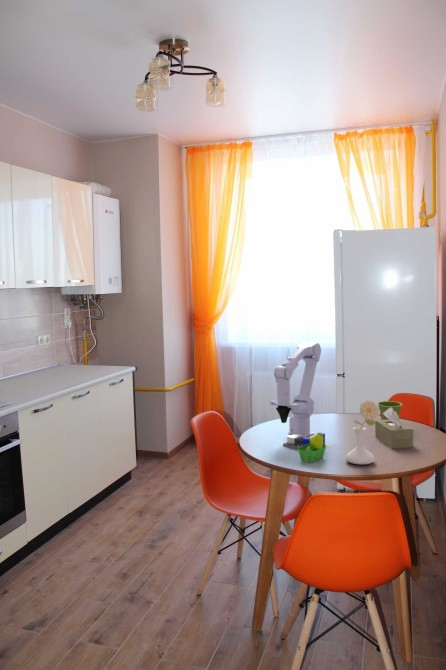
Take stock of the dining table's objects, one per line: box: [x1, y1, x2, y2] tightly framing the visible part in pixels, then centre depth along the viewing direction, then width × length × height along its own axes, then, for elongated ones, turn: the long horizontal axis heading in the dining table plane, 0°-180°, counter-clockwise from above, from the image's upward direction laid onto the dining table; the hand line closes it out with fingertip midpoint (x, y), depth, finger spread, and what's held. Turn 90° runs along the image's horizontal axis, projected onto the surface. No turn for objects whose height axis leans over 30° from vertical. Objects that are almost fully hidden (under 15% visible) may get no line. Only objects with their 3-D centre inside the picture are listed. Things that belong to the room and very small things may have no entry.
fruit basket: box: [297, 432, 327, 464], centre depth 222 cm, size 11×9×11 cm
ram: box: [286, 434, 304, 447], centre depth 243 cm, size 5×6×4 cm
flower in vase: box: [344, 400, 380, 465], centre depth 216 cm, size 13×11×25 cm
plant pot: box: [376, 400, 403, 420], centre depth 270 cm, size 12×12×11 cm
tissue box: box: [374, 407, 414, 449], centre depth 243 cm, size 19×10×16 cm, turn 6°
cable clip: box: [302, 432, 326, 446], centre depth 236 cm, size 12×4×6 cm, turn 134°
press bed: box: [282, 441, 331, 453], centre depth 240 cm, size 17×15×1 cm
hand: (284, 422), depth 247 cm, fingers closed
